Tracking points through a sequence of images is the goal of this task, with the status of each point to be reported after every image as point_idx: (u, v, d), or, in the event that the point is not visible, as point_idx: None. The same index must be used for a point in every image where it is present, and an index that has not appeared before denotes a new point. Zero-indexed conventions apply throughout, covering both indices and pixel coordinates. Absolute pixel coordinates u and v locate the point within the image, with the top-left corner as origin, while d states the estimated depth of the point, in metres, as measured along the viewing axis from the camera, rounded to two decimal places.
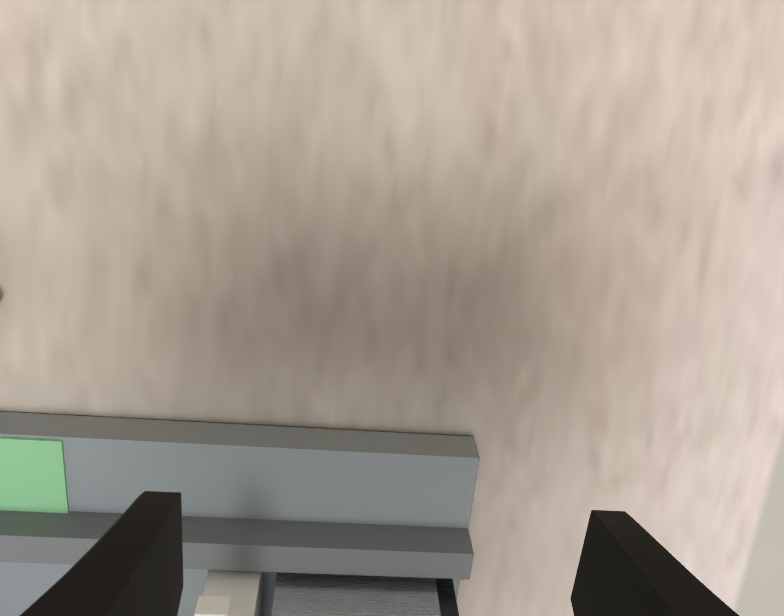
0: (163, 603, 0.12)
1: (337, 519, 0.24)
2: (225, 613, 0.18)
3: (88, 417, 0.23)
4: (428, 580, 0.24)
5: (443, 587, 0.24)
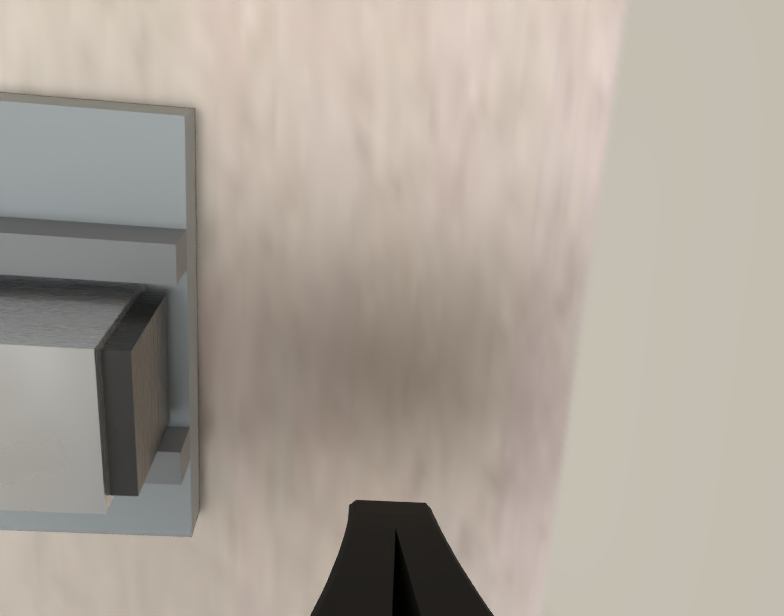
0: None
1: (4, 211, 0.18)
2: None
3: None
4: (125, 290, 0.18)
5: (146, 301, 0.18)
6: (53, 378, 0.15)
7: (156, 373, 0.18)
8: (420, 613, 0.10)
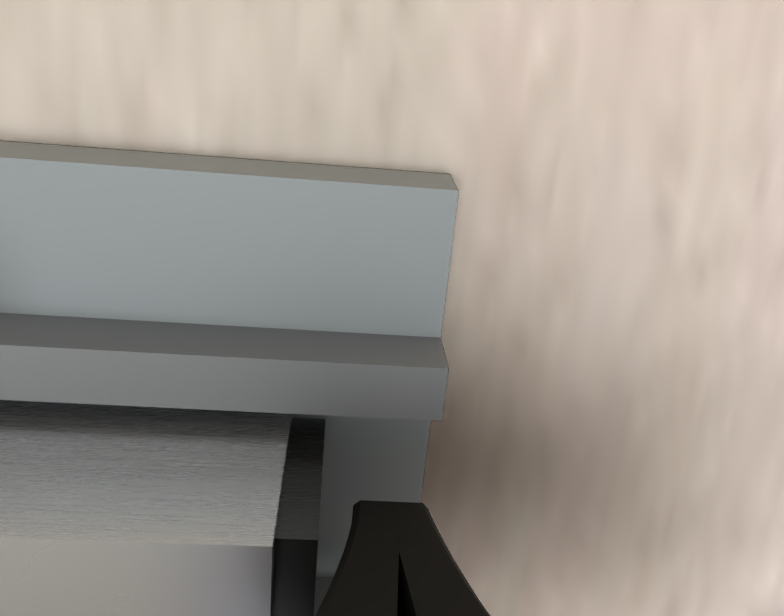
0: None
1: (202, 317, 0.13)
2: None
3: None
4: (276, 421, 0.13)
5: (304, 434, 0.13)
6: (209, 586, 0.10)
7: None
8: (416, 613, 0.10)
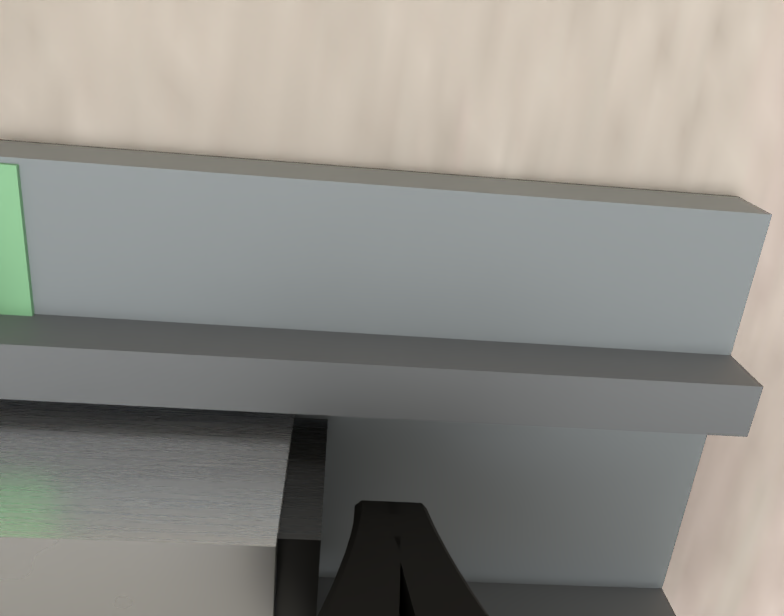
0: None
1: (508, 335, 0.13)
2: None
3: (68, 145, 0.13)
4: (278, 421, 0.13)
5: (307, 435, 0.13)
6: (212, 585, 0.10)
7: None
8: (415, 613, 0.10)
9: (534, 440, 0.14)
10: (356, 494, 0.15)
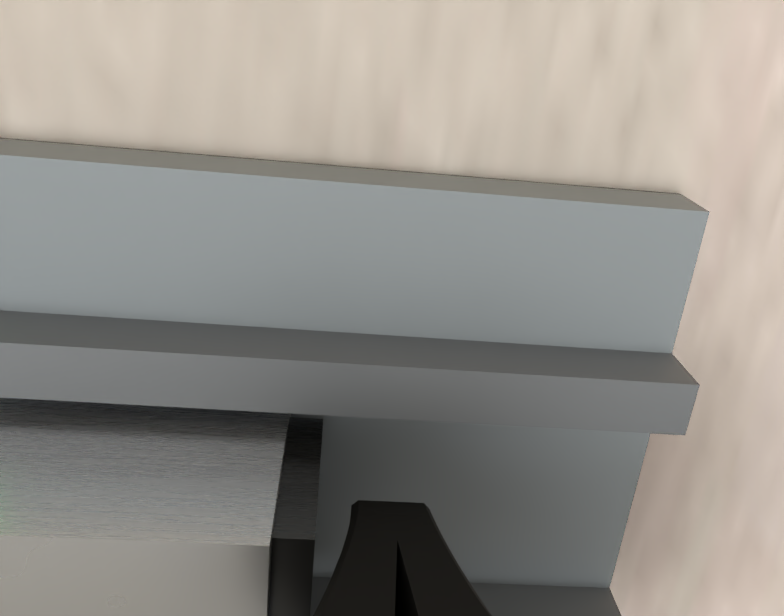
0: None
1: (446, 332, 0.13)
2: None
3: (2, 139, 0.13)
4: (273, 421, 0.13)
5: (302, 434, 0.13)
6: (206, 585, 0.10)
7: None
8: (418, 613, 0.10)
9: (476, 438, 0.14)
10: None
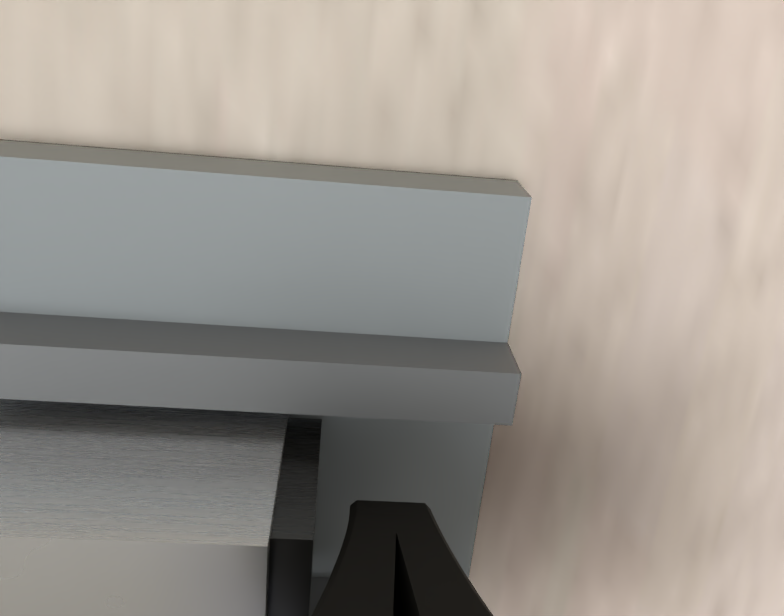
0: None
1: (273, 321, 0.13)
2: None
3: None
4: (272, 421, 0.13)
5: (300, 435, 0.13)
6: (204, 584, 0.10)
7: None
8: (419, 613, 0.10)
9: None
10: None
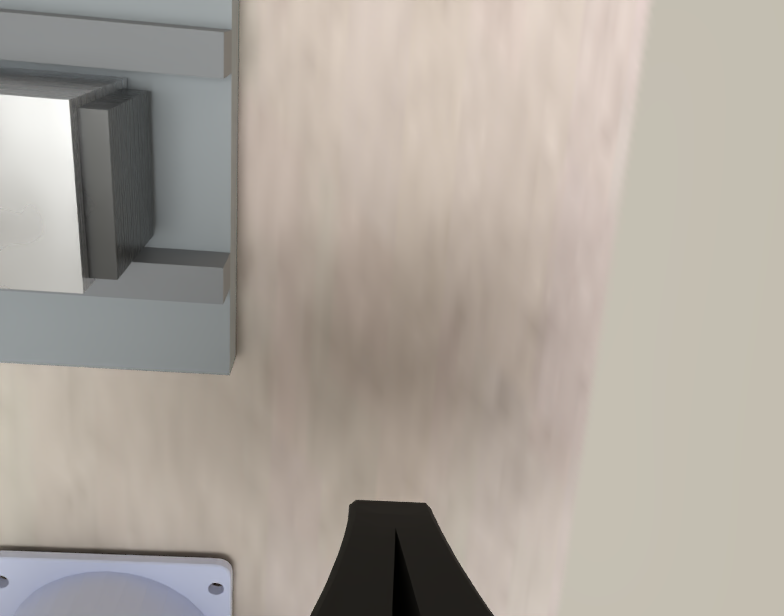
0: None
1: (47, 5, 0.17)
2: None
3: None
4: (105, 81, 0.17)
5: (127, 92, 0.17)
6: (27, 133, 0.14)
7: (137, 166, 0.17)
8: (420, 613, 0.10)
9: None
10: None
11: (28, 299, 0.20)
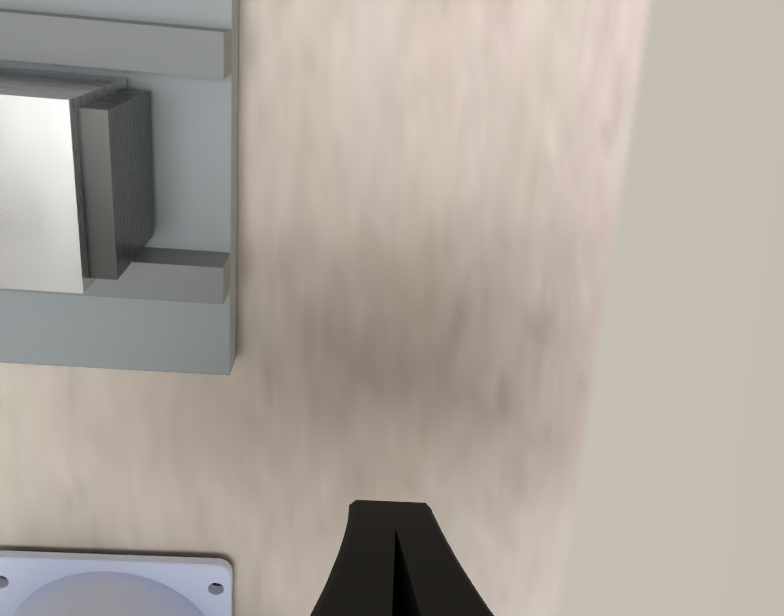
0: None
1: (47, 5, 0.17)
2: None
3: None
4: (105, 81, 0.17)
5: (127, 92, 0.17)
6: (27, 133, 0.14)
7: (137, 166, 0.17)
8: (420, 613, 0.10)
9: None
10: None
11: (28, 299, 0.20)
